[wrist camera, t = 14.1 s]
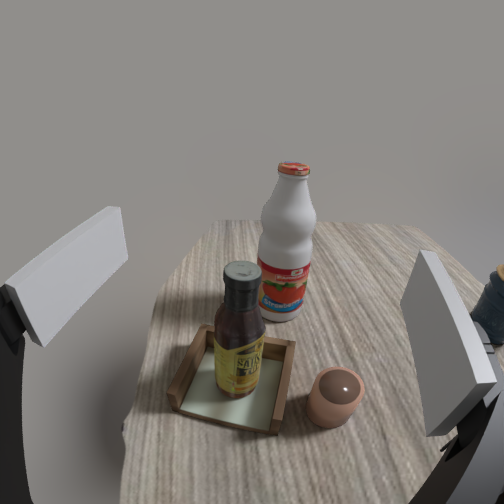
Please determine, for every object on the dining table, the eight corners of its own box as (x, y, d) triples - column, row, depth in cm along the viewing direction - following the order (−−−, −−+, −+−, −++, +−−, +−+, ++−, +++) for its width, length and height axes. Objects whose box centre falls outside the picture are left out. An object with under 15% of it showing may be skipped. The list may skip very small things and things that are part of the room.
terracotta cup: (343, 386, 41) (354, 362, 38) (357, 422, 35) (372, 401, 32) (300, 393, 40) (308, 369, 37) (312, 432, 34) (322, 412, 31)
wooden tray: (291, 361, 46) (295, 341, 43) (277, 435, 34) (282, 420, 31) (203, 344, 48) (201, 323, 46) (172, 410, 36) (166, 392, 34)
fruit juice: (290, 289, 63) (307, 158, 49) (309, 317, 55) (336, 173, 41) (248, 296, 60) (255, 158, 46) (263, 327, 52) (277, 173, 38)
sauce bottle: (240, 408, 36) (245, 299, 26) (206, 385, 39) (196, 274, 29) (267, 379, 41) (283, 268, 31) (234, 359, 44) (236, 249, 34)
